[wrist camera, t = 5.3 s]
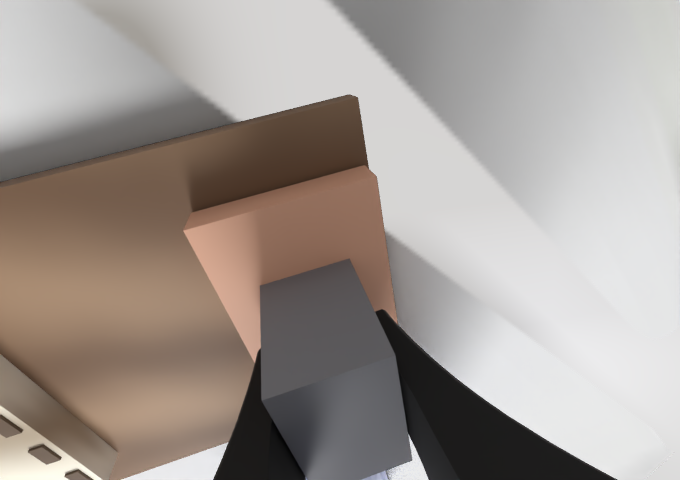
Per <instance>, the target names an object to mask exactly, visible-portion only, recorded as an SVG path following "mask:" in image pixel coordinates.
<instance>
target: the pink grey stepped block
mask: <svg viewBox="0 0 680 480" xmlns="http://www.w3.org/2000/svg"><path fill="white" fill-rule="evenodd" d="M183 231H184V233H185V235H186V237H187V239H188V241H189V243H190V244H191V246H192V248H193V250H194V252H195V254H196V255H197V257H198V259H199V261H200V263H201V265H202V267H203V268H204V270H205V272H206V274H207V276H208V278H209V280H210V281H211V283H212V285H213V287H214V289H215V291H216V292H217V294H218V296H219V298H220V300H221V302H222V304H223V305H224V307H225V309H226V311H227V313H228V315H229V316H230V318H231V320H232V322H233V324H234V326H235V328H236V329H237V331H238V333H239V335H240V337H241V339H242V341H243V342H244V344H245V346H246V348H247V350H248V352H249V353H250V355H251V357H252V359H253V361H254V363H255V361H256V356H257V352H258V351H259V349H260V348H261V399H262V402H263V404H264V406H265V408H266V409H267V411H268V413H269V414H270V416H271V418H272V420H273V421H274V423H275V425H276V426H277V428H278V430H279V432H280V433H281V435H282V437H283V438H284V440H285V442H286V444H287V445H288V447H289V449H290V451H291V452H292V454H293V456H294V457H295V459H296V461H297V463H298V464H299V466H300V468H301V469H302V471H303V473H304V475H305V476H306V478H307V480H362V479H364V478H367V477H370V476H372V475H375V474H378V473H380V472H383V471H386V470H388V469H391V468H394V467H396V466H399V465H402V464H404V463H407V462H410V461H412V455H411V449H410V443H409V437H408V430H407V424H406V418H405V412H404V405H403V399H402V393H401V387H400V380H399V374H398V368H397V362H396V355H395V353H394V351H393V349H392V347H391V345H390V343H389V341H388V338H387V336H386V334H385V332H384V330H383V328H382V326H381V324H380V322H379V320H378V317H377V315H376V313H375V311H378V310H381V309H383V310H385V311H386V312H387V313H388V314H389V315H390V316H391V318H392V319H393V320H394V321H395V322H396V323H397V324H398V322H397V315H396V308H395V301H394V294H393V287H392V280H391V273H390V266H389V259H388V252H387V245H386V238H385V231H384V224H383V217H382V210H381V204H380V196H379V189H378V183H377V177H376V175H375V174H374V173H372V172H371V171H370V170H369V169H368V168H367V167H366V166H365V165H363V166H359V167H356V168H352V169H348V170H345V171H341V172H337V173H334V174H330V175H327V176H323V177H319V178H316V179H312V180H308V181H305V182H301V183H297V184H294V185H290V186H287V187H283V188H279V189H276V190H272V191H268V192H265V193H261V194H257V195H254V196H250V197H247V198H243V199H239V200H236V201H232V202H228V203H225V204H221V205H218V206H214V207H210V208H207V209H203V210H199V211H196V212H192V213H191V214H190V216H189V218H188V221H187V223H186V225H185V227H184V230H183Z"/></svg>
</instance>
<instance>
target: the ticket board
mask: <svg viewBox="0 0 680 480" xmlns="http://www.w3.org/2000/svg"><path fill="white" fill-rule="evenodd" d="M363 165H365V166H366V167H367V168H368V169H369V167H368V160H367V154H366V147H365V141H364V135H363V128H362V121H361V115H360V109H359V102H358V97H355V96H352V95H345V96H341V97H337V98H333V99H329V100H325V101H321V102H317V103H313V104H309V105H305V106H301V107H297V108H293V109H289V110H285V111H281V112H277V113H273V114H269V115H265V116H261V117H257V118H253V119H249V120H245V121H241V122H238V123H234V124H230V125H226V126H222V127H218V128H214V129H210V130H206V131H202V132H198V133H194V134H190V135H186V136H182V137H178V138H174V139H170V140H166V141H162V142H158V143H154V144H150V145H146V146H142V147H138V148H134V149H130V150H126V151H122V152H118V153H114V154H110V155H106V156H102V157H98V158H94V159H90V160H86V161H82V162H78V163H74V164H71V165H67V166H63V167H59V168H55V169H51V170H47V171H43V172H39V173H35V174H31V175H27V176H23V177H19V178H15V179H11V180H7V181H3V182H0V480H121V479H124V478H127V477H130V476H132V475H135V474H138V473H141V472H144V471H147V470H150V469H152V468H155V467H158V466H161V465H164V464H167V463H170V462H173V461H175V460H178V459H181V458H184V457H187V456H190V455H193V454H196V453H198V452H201V451H204V450H207V449H210V448H213V447H216V446H218V445H221V444H224V443H227V442H229V440H230V438H231V435H232V432H233V430H234V427H235V425H236V422H237V419H238V416H239V413H240V410H241V407H242V404H243V401H244V398H245V395H246V392H247V389H248V386H249V382H250V379H251V375H252V372H253V368H254V364H255V363H254V361H253V359H252V357H251V355H250V353H249V352H248V350H247V348H246V346H245V344H244V342H243V341H242V339H241V337H240V335H239V333H238V331H237V329H236V328H235V326H234V324H233V322H232V320H231V318H230V316H229V315H228V313H227V311H226V309H225V307H224V305H223V304H222V302H221V300H220V298H219V296H218V294H217V292H216V291H215V289H214V287H213V285H212V283H211V281H210V280H209V278H208V276H207V274H206V272H205V270H204V268H203V267H202V265H201V263H200V261H199V259H198V257H197V255H196V254H195V252H194V250H193V248H192V246H191V244H190V243H189V241H188V239H187V237H186V235H185V233H184V231H183V230H184V227H185V225H186V223H187V221H188V218H189V216H190V214H191V213H192V212H196V211H199V210H203V209H207V208H210V207H214V206H218V205H221V204H225V203H228V202H232V201H236V200H239V199H243V198H247V197H250V196H254V195H257V194H261V193H265V192H268V191H272V190H276V189H279V188H283V187H287V186H290V185H294V184H297V183H301V182H305V181H308V180H312V179H316V178H319V177H323V176H327V175H330V174H334V173H337V172H341V171H345V170H348V169H352V168H356V167H359V166H363Z"/></svg>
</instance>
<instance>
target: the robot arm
mask: <svg viewBox="0 0 680 480" xmlns="http://www.w3.org/2000/svg"><path fill="white" fill-rule="evenodd" d="M375 313H376V315H377V317H378V320H379V322H380V324H381V326H382V328H383V330H384V332H385V334H386V336H387V338H388V341H389V343H390V345H391V347H392V349H393V351H394V353H395V355H396V362H397V368H398V374H399V380H400V387H401V393H402V399H403V405H404V412H405V418H406V424H407V430H408V434H409V436H410V438H411V440H412V442H413V444H414V446H415V448H416V450H417V452H418V455H419V457H420V459H421V461H422V464H423V466H424V469H425V471H426V474H427V476H428V479H429V480H617V479H615V478H613V477H611V476H609V475H607V474H606V473H604V472H602V471H600V470H598V469H596V468H595V467H593V466H591V465H589V464H587V463H585V462H583V461H582V460H580V459H578V458H576V457H575V456H573V455H571V454H570V453H568V452H566V451H564V450H563V449H561V448H559V447H557V446H556V445H554V444H552V443H550V442H549V441H547V440H546V439H544V438H542V437H541V436H539V435H538V434H536V433H534V432H533V431H531V430H530V429H528V428H527V427H525V426H523V425H522V424H520V423H519V422H517V421H515V420H514V419H512V418H511V417H509V416H507V415H506V414H505V413H503V412H502V411H500V410H499V409H497V408H496V407H494V406H493V405H491V404H490V403H489V402H487V401H486V400H484V399H483V398H482V397H480V396H479V395H477V394H476V393H475V392H473V391H472V390H471V389H469V388H468V387H467V386H465V385H464V384H463V383H462V382H460V381H459V380H458V379H456V378H455V377H454V376H453V375H452V374H450V373H449V372H448V371H447V370H446V369H444V368H443V367H442V366H441V365H440V364H438V363H437V362H436V361H435V360H434V359H433V358H432V357H430V356H429V355H428V354H427V353H426V352H425V351H424V350H423V349H422V348H421V347H420V346H418V345H417V344H416V343H415V342H414V341H413V340H412V339H411V338H410V337H409V336H408V335H407V334H406V333H405V332H404V331H403V330H402V329H401V328H400V327H399V325H398V324H397V323H396V322H395V321H394V320H393V319H392V318H391V316H390V315H389V314H388V313H387V312H386V311H385V310H383V309H381V310H378V311H375ZM213 480H307V478H306V476H305V475H304V473H303V471H302V469H301V468H300V466H299V464H298V463H297V461H296V459H295V457H294V456H293V454H292V452H291V451H290V449H289V447H288V445H287V444H286V442H285V440H284V438H283V437H282V435H281V433H280V432H279V430H278V428H277V426H276V425H275V423H274V421H273V420H272V418H271V416H270V414H269V413H268V411H267V409H266V408H265V406H264V404H263V402H262V399H261V348H260V349H259V351H258V352H257V356H256V361H255V364H254V368H253V372H252V375H251V379H250V382H249V386H248V389H247V392H246V395H245V398H244V401H243V404H242V407H241V410H240V413H239V416H238V419H237V422H236V425H235V427H234V430H233V432H232V435H231V438H230V440H229V443H228V445H227V448H226V450H225V453H224V456H223V458H222V460H221V463H220V465H219V467H218V470H217V472H216V474H215V477H214V479H213ZM362 480H388V478H387V474H386V471H383V472H380V473H378V474H375V475H372V476H370V477H367V478H364V479H362Z"/></svg>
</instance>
